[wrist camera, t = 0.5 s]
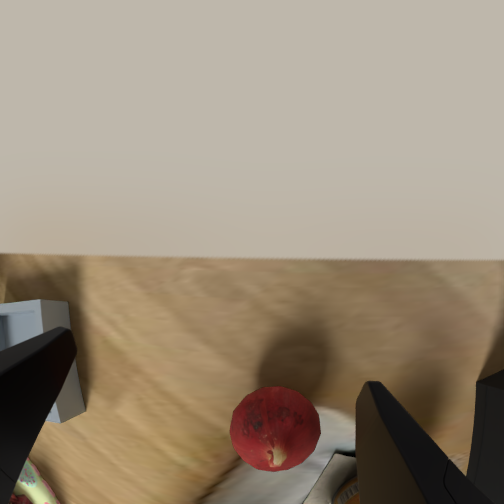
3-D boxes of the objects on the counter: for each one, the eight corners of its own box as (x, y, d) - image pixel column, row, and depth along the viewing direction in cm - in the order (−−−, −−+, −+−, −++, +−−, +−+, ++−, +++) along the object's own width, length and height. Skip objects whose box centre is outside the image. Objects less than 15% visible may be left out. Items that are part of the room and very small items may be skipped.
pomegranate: (221, 397, 21) (199, 438, 14) (288, 362, 22) (299, 389, 14) (260, 454, 20) (256, 511, 12) (325, 421, 21) (349, 468, 13)
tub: (85, 411, 22) (60, 423, 18) (16, 401, 22) (-8, 408, 18) (68, 301, 23) (40, 299, 19) (2, 308, 24) (-24, 306, 20)
